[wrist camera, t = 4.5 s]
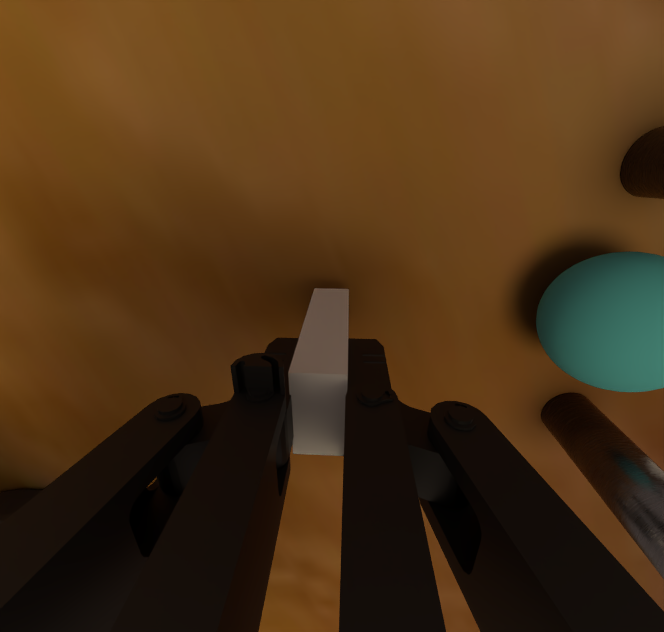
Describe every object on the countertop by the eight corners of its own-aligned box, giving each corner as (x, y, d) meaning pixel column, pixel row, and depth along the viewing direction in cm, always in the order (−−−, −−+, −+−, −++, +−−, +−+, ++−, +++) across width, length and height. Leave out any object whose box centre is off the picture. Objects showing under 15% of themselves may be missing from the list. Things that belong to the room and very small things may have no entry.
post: (536, 429, 19) (680, 628, 11) (548, 392, 18) (718, 581, 10) (583, 431, 19) (764, 633, 11) (597, 394, 18) (812, 586, 9)
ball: (581, 338, 17) (496, 357, 16) (618, 233, 15) (522, 244, 14) (718, 404, 13) (615, 439, 11) (803, 266, 10) (686, 288, 9)
